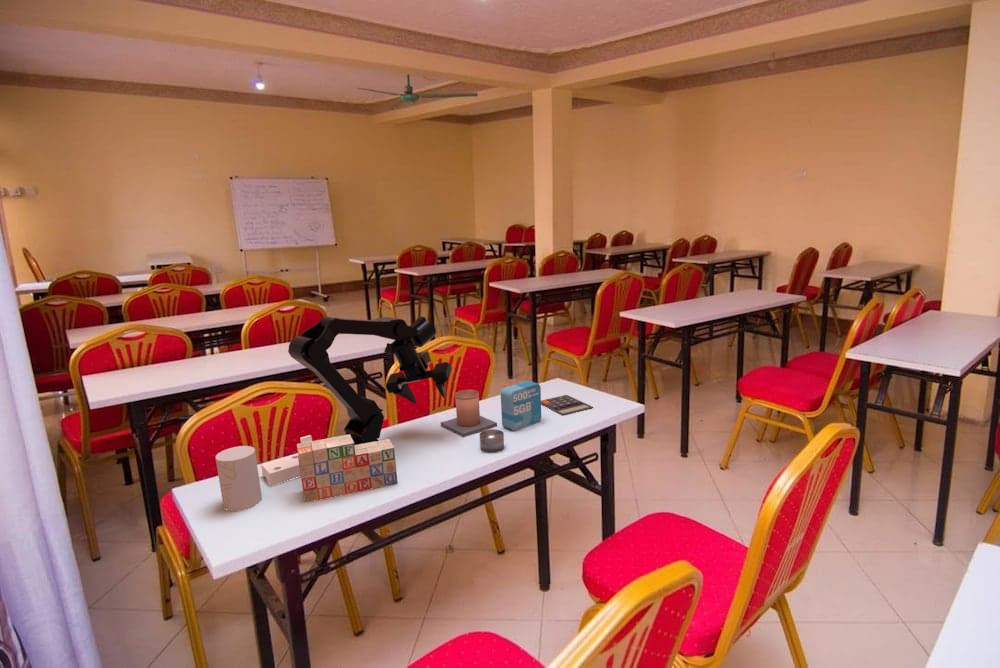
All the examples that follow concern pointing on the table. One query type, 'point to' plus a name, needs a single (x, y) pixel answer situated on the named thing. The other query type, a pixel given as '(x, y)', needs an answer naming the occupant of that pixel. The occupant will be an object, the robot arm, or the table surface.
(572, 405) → the calculator
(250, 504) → the beige upright cylinder
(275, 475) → the bracket
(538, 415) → the data package
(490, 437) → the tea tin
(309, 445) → the stack of blocks
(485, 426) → the charcoal mat
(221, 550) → the table surface
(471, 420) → the terracotta canister
